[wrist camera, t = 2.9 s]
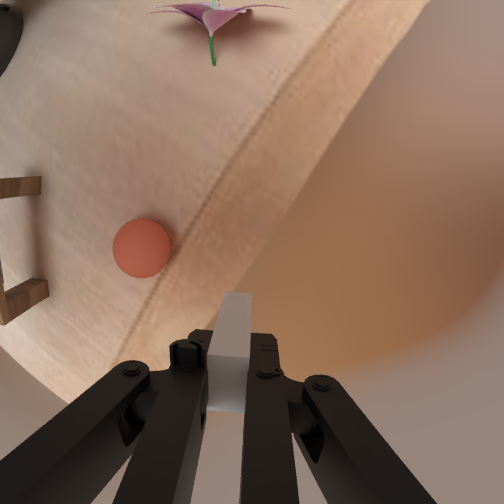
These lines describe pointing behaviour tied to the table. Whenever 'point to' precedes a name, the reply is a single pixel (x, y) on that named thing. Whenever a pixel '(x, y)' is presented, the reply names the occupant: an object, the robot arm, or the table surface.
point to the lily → (208, 15)
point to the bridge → (33, 290)
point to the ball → (141, 248)
